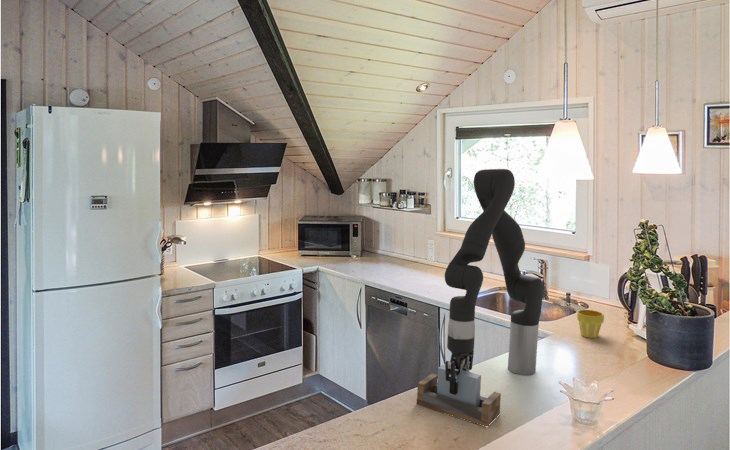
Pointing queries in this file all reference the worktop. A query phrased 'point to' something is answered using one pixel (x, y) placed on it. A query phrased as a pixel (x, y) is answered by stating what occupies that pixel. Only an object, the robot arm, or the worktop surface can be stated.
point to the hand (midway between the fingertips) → (458, 389)
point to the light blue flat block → (461, 386)
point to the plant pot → (590, 322)
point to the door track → (486, 404)
